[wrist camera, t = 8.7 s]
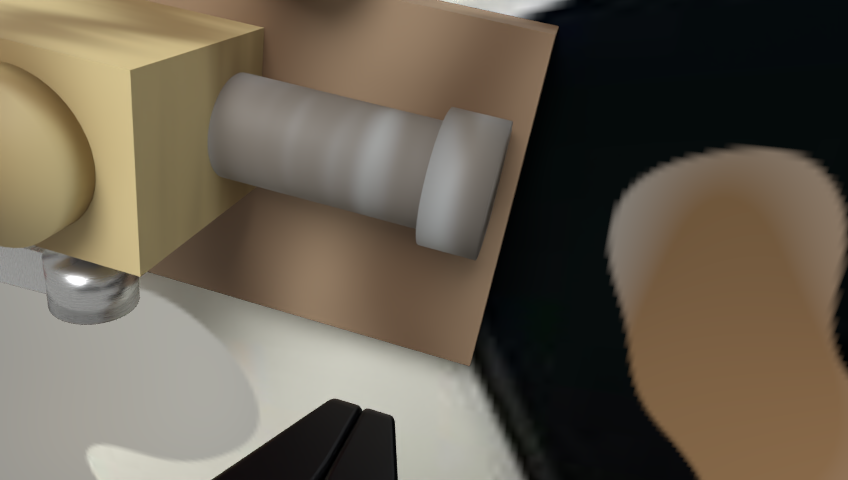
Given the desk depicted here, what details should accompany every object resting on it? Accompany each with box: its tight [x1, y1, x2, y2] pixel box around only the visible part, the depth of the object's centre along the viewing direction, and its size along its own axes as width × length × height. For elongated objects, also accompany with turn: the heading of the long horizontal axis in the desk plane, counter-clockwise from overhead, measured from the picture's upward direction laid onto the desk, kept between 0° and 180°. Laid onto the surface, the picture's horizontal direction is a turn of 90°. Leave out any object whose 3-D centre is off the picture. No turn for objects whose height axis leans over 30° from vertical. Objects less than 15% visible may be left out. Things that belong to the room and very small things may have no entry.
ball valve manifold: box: [0, 0, 559, 366], centre depth 18 cm, size 16×11×8 cm
